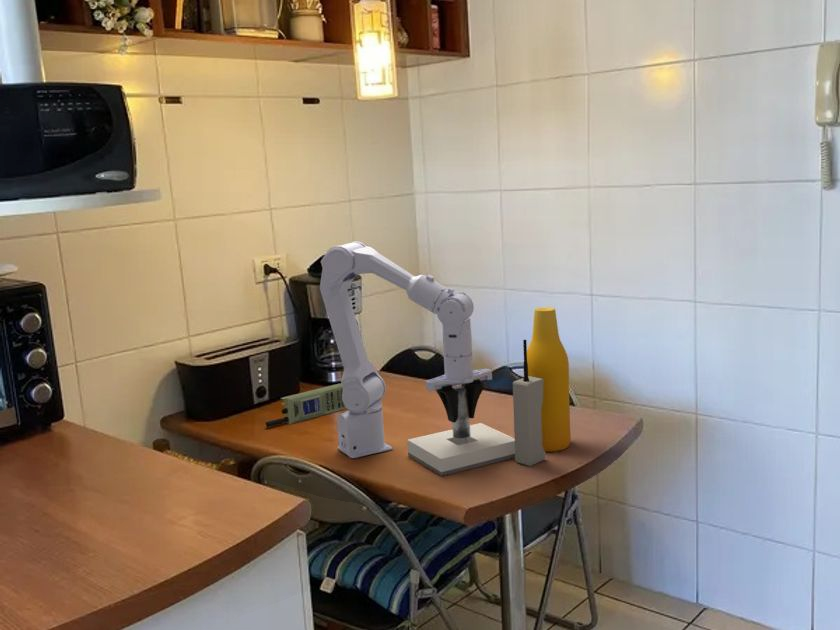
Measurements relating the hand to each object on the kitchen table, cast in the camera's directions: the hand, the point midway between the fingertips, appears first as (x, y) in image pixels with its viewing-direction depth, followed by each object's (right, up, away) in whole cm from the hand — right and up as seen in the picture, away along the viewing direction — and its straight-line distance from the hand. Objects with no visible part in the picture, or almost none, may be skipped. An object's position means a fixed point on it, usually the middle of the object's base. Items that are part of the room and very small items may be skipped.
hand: (461, 419), depth 171 cm
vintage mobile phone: (+14, -8, -3) cm, 16 cm away
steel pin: (0, -3, +1) cm, 4 cm away
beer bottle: (+19, -6, +5) cm, 20 cm away
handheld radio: (-35, -4, +34) cm, 49 cm away
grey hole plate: (0, -8, +2) cm, 8 cm away
